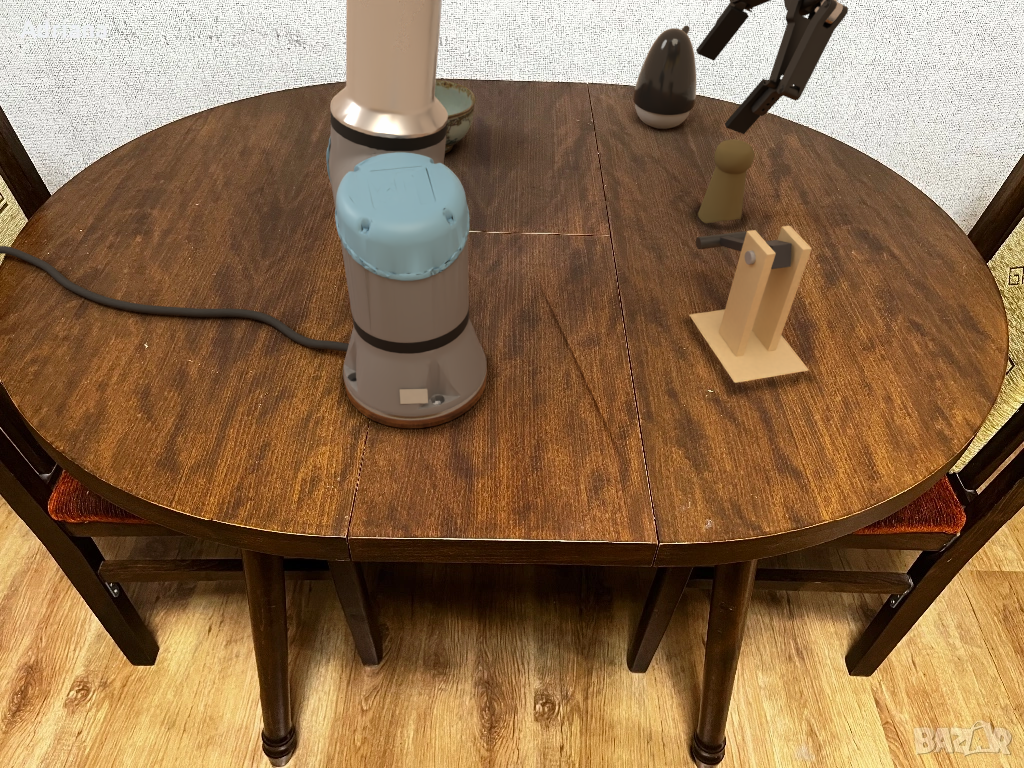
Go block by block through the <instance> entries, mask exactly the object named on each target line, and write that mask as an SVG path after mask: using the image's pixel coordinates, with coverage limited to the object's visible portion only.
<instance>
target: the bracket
mask: <svg viewBox="0 0 1024 768" xmlns="http://www.w3.org/2000/svg"><path fill="white" fill-rule="evenodd" d="M777 240H779V241H783V242H787V243H791V244H792V249H791V267H785V268H778V269H771V267H772V264H773V261H774V258H775V254H776V253H775V252H774V251H773V250H772V249H771V247H770V246H769V245H768V244H767V243H766V242H765V241H766V240H765V239H764V238H763V237H762V235H760V234H759V232H757V230H756V229H753V230H752V229H751V230H747V231H746V236H745V240H744V243H743V247H742V250H741V251H740V254H739V257H738V261H737V265H736V269H735V272H734V276H733V279H732V283H731V286H730V290H729V294H728V298H727V301H726V304H725V308H724V309H718V310H712V311H705V312H697V313H691V314H688V315H689V317H690V319H691V320H692V321H693V323H694V325H695V327H697V329H698V330H699V332H700V333H701V336H703V338H704V339H705V341H706V343H707V344H708V345H709V347H710V348H711V350H712V351H713V353H714V354H715V356H716V358H717V359H718V360H719V362H720V363H721V365H722V366H723V368H724V370H725V371H726V373H727V374H728V375H729V377H730V378H731V380H732V381H733V383H735V384H737V383H743V382H748V381H754V380H755V381H756V380H760V379H766V378H771V377H773V378H774V377H779V376H783V375H784V376H785V375H790V374H796V373H802V372H807V371H810V369H809V368H808V367H807V365H806V364H805V363H804V362H803V361H802V359H801V357H799V356H798V354H797V353H796V351H795V350H794V349H793V347H792V346H791V345H790V343H788V341H787V340H786V339H785V338H784V336H783V335H782V334H783V332H784V329H785V326H786V323H787V320H788V318H789V314H790V312H791V309H792V306H793V303H794V301H795V298H796V294H797V291H798V289H799V286H800V283H801V280H802V278H803V275H804V272H805V270H806V266H807V263H808V261H809V258H810V255H811V252H812V247H811V246H810V245H809V244H808V243H807V241H805V240H804V238H802V237H801V235H800V234H799V233H798V232H797V231H796V230H795V229H794V228H793V227H792V226H791V225H783V226H781V227H780V231H779V233H778V237H777Z"/></svg>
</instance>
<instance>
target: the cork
mask: <svg viewBox="0 0 1024 768" xmlns="http://www.w3.org/2000/svg"><path fill="white" fill-rule="evenodd" d="M755 156H756V155H755V150H754V148H753V146H752V145H751V144H750V143H749V142H747V141H743V140H742V139H735V138H732V139H725V140H723V141H722V142H720V143H719V144H718V145H717V147H716V148H715V151H714V155H713V161H714V164H715V168H714V169H713V170H714V171H713V173H712V176H711V178H710V180H709V183H708V186H707V189H706V191H705V193H704V196H703V199H702V202H701V204H700V207H699V210H698V212H697V216H698V219H699V220H700V221H701V222H703V223H704V224H710V223H719V222H726V221H735V220H736V221H737V220H741V219H742V214H743V205H744V197H745V190H746V189H745V188H746V179H747V171H748V170H749V169H750V168H752V165H753V163H754V160H755Z"/></svg>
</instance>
